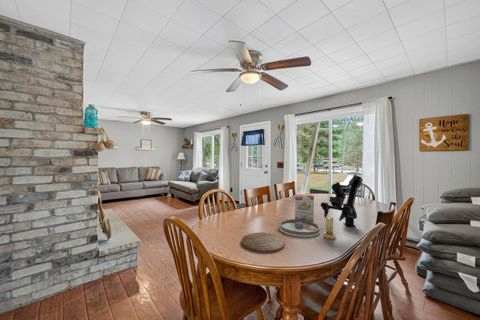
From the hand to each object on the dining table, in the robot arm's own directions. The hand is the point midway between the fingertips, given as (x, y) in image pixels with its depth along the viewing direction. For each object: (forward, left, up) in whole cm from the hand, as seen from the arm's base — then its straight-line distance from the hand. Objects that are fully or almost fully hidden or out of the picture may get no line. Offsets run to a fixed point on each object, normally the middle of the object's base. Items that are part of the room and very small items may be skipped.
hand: (332, 219), depth 129 cm
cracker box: (-29, -11, -11) cm, 33 cm away
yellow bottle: (+3, -2, -11) cm, 11 cm away
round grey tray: (-10, -18, -11) cm, 24 cm away
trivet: (+15, -44, -11) cm, 48 cm away
